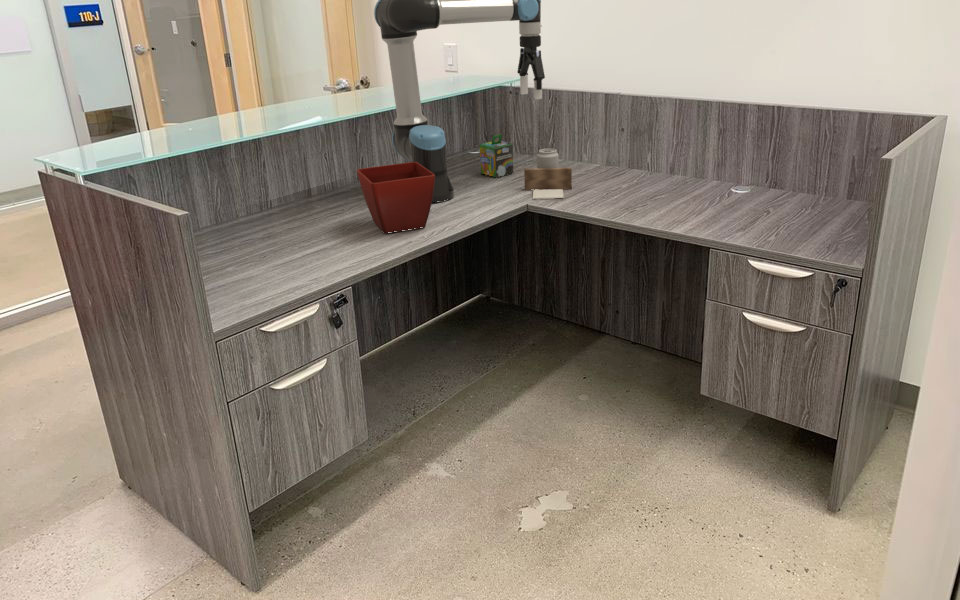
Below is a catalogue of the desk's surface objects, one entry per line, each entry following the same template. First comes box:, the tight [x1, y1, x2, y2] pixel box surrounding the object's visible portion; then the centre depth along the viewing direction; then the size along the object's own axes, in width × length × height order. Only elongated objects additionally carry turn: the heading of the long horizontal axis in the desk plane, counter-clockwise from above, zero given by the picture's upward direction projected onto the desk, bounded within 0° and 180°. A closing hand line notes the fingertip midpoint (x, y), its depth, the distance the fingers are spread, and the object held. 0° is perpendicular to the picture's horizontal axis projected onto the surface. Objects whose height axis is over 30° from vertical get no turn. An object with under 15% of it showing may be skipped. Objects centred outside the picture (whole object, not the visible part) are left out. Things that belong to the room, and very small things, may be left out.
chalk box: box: [479, 133, 514, 178], centre depth 282 cm, size 9×9×15 cm
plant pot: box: [356, 161, 435, 234], centre depth 228 cm, size 19×19×17 cm
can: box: [536, 148, 560, 169], centre depth 266 cm, size 8×8×12 cm
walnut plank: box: [523, 167, 573, 191], centre depth 261 cm, size 16×2×7 cm, turn 85°
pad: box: [532, 189, 564, 200], centre depth 255 cm, size 10×10×1 cm
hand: (531, 96), depth 277 cm, fingers open, 13 cm apart
